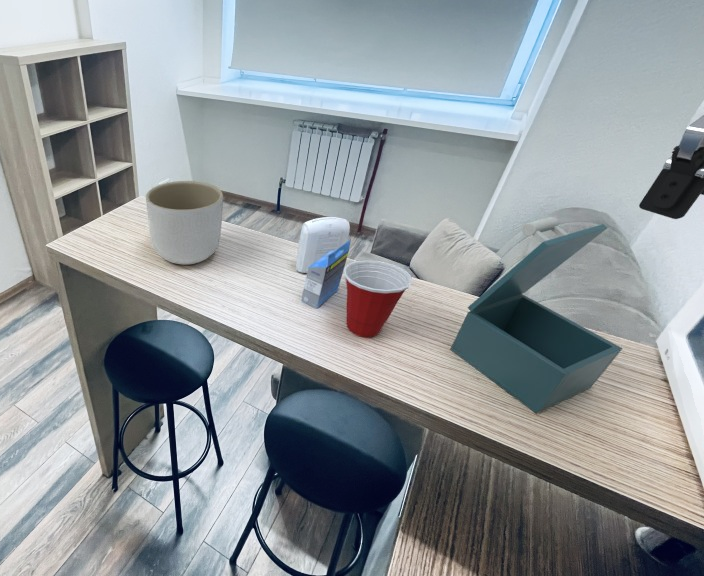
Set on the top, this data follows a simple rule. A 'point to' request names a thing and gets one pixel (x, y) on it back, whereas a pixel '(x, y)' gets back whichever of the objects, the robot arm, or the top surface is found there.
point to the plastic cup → (372, 294)
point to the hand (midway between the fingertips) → (687, 204)
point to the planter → (185, 220)
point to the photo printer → (320, 239)
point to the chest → (533, 351)
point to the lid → (538, 260)
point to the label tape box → (325, 276)
